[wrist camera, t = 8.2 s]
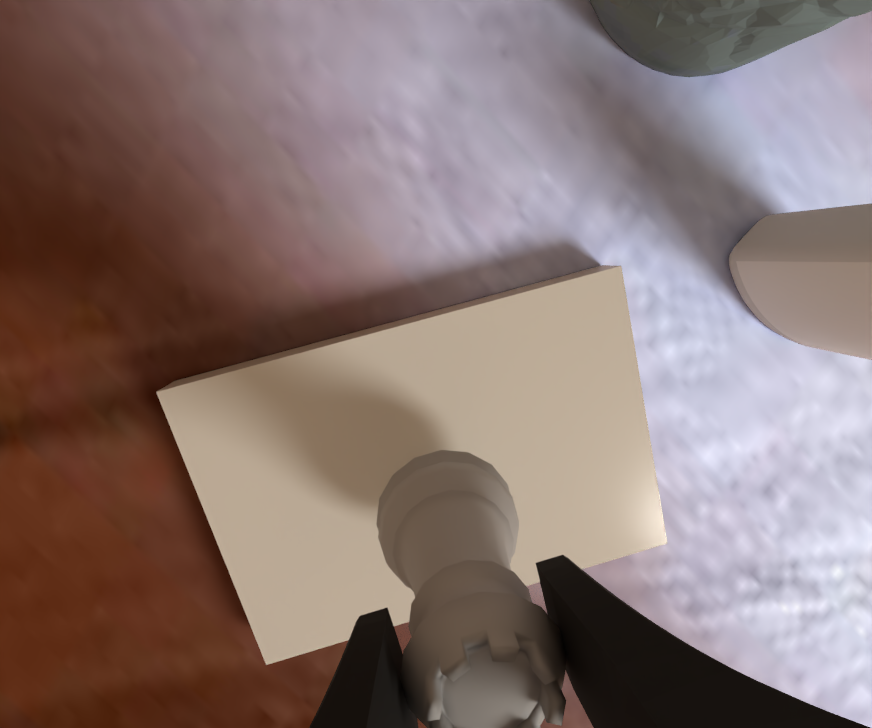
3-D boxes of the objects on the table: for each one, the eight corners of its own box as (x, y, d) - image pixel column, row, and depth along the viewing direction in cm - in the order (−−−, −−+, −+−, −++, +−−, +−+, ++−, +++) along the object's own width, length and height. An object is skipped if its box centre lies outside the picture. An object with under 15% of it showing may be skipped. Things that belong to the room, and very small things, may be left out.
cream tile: (274, 635, 20) (266, 665, 19) (174, 380, 18) (156, 392, 16) (647, 523, 21) (667, 543, 20) (602, 265, 19) (621, 265, 17)
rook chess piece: (415, 594, 17) (438, 861, 9) (351, 484, 16) (317, 672, 8) (531, 533, 17) (656, 745, 9) (474, 420, 16) (557, 547, 8)
